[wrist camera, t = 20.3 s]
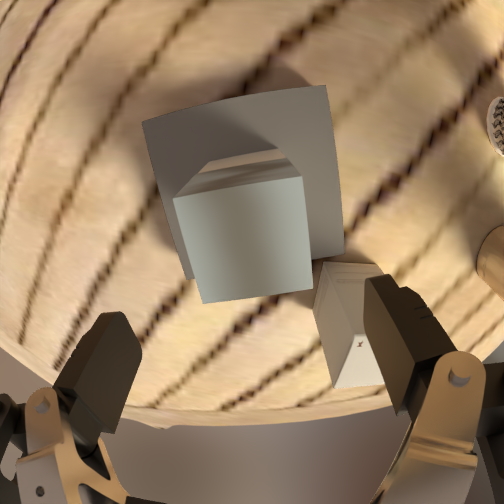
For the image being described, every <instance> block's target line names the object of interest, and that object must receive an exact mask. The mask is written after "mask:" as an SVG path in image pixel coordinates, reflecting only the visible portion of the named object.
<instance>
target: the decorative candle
mask: <svg viewBox="0 0 504 504" xmlns="http://www.w3.org/2000/svg"><path fill="white" fill-rule="evenodd" d="M486 121H487V133H488V136H489V140H490V143H491V145H492V146H493V148H494V150H495V151H496V152H497V153H498V154H500V155H501V156H503V157H504V97H497V98H495V99H493V100H492V102H491V104H490V105H489V107H488V112H487V118H486Z"/></svg>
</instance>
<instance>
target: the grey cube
mask: <svg viewBox="0 0 504 504" xmlns="http://www.w3.org/2000/svg"><path fill="white" fill-rule="evenodd" d="M173 202H174V206H175V210H176V214H177V217H178V221H179V225H180V228H181V232H182V236H183V239H184V243H185V246H186V250H187V253H188V256H189V260H190V263H191V267H192V270H193V273H194V277H195V280H196V283H197V286H198V289H199V293H200V296H201V299H202V302H203V304H206V303H215V302H223V301H231V300H238V299H246V298H253V297H261V296H268V295H275V294H281V293H288V292H295V291H301V290H307V289H313V278H312V265H311V253H310V242H309V232H308V222H307V213H306V204H305V195H304V187H303V179H302V175H301V174H300V173H299V172H298V170H297V169H296V168H295V167H294V166H293V164H292V163H291V162H290V161H289V159H288V158H283V159H276V160H269V161H263V162H257V163H251V164H245V165H239V166H233V167H228V168H222V169H217V170H212V171H207V172H202V173H197V174H195V175H194V176H193V177H192V178H191V180H190V181H189V182H188V183H187V184H186V185H185V186H184V187H183V188H182V189H181V190H180V191H179V192H178V193H177V194H176V195H175V196H174V198H173Z"/></svg>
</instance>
